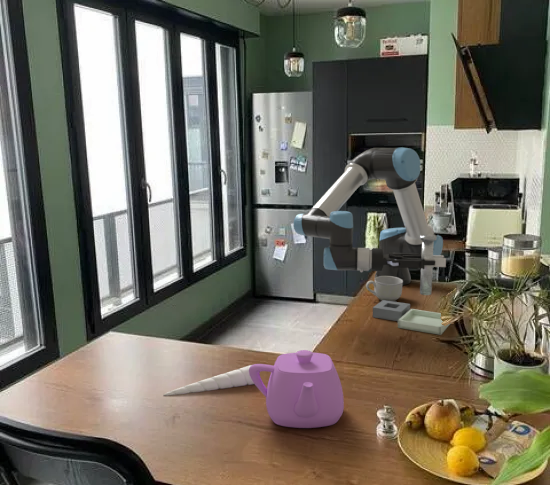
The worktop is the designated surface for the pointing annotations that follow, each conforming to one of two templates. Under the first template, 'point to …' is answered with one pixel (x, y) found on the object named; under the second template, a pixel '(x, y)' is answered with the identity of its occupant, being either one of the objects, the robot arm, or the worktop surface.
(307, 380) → the teapot
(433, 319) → the tray
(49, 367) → the worktop surface
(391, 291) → the teacup
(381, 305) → the socket block
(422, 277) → the pin
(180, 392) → the unicorn horn
